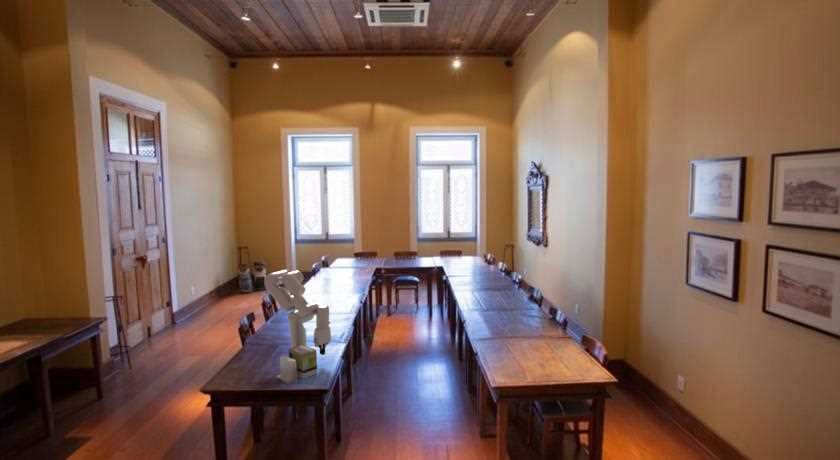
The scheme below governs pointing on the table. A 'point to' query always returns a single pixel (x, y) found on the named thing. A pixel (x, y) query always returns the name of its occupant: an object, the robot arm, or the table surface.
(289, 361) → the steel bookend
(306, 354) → the tea box
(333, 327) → the table surface
